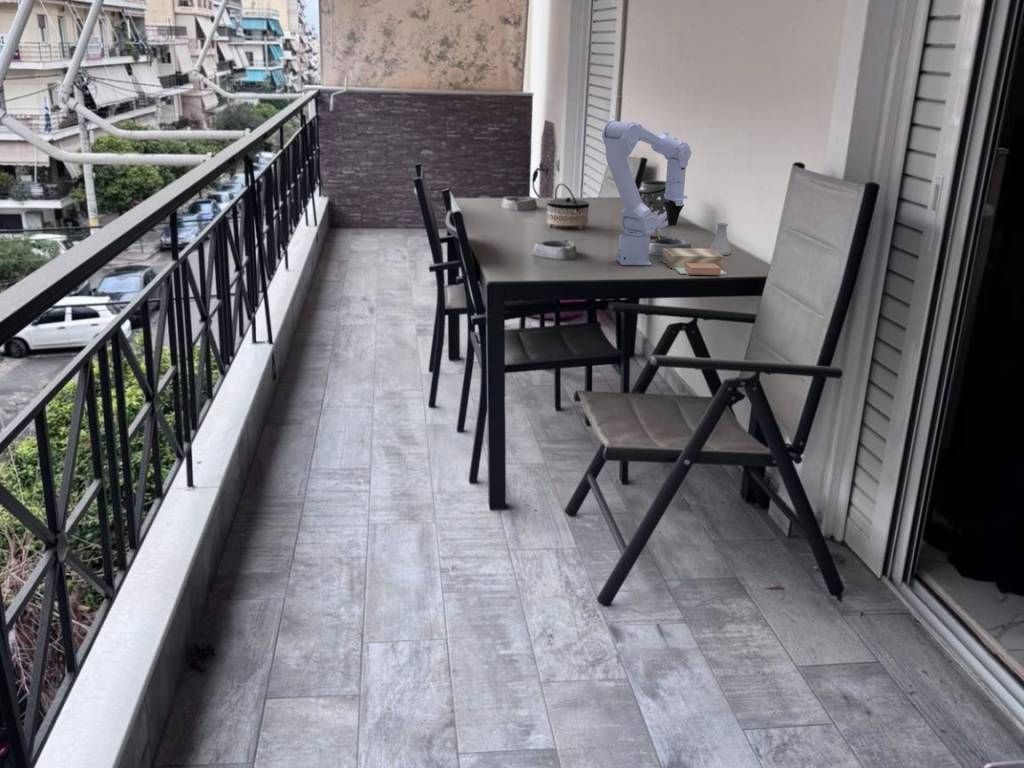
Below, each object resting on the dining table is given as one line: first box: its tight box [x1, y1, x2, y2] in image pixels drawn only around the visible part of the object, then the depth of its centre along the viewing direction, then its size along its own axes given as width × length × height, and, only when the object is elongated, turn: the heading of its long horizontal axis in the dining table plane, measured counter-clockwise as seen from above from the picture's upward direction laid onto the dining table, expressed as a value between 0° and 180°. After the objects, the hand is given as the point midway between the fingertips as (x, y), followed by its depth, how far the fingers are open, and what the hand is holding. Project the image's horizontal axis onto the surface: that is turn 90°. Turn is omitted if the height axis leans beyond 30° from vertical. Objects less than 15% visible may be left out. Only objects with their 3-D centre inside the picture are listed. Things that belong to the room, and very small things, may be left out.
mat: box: [673, 267, 728, 276], centre depth 274 cm, size 14×8×1 cm, turn 94°
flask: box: [708, 222, 732, 256], centre depth 299 cm, size 7×7×10 cm
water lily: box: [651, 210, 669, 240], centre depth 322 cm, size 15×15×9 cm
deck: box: [661, 247, 725, 271], centre depth 282 cm, size 16×12×4 cm
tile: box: [685, 263, 721, 276], centre depth 271 cm, size 9×6×2 cm, turn 95°
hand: (672, 225), depth 289 cm, fingers closed
